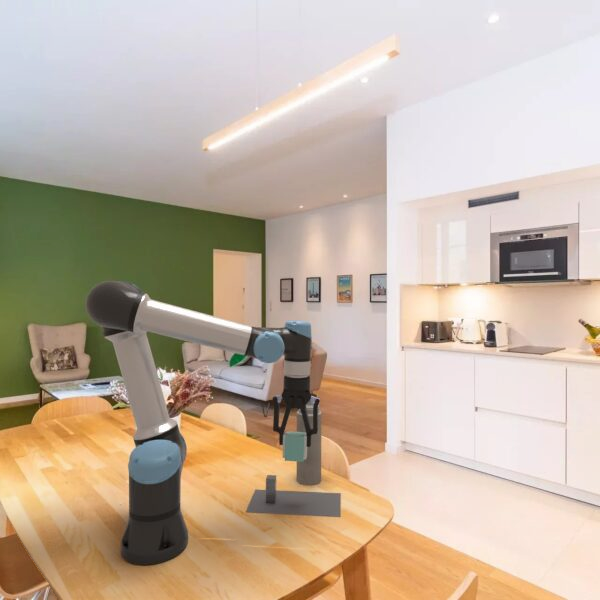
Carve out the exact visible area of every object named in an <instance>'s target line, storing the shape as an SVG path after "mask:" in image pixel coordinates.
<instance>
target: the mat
mask: <svg viewBox="0 0 600 600" xmlns="http://www.w3.org/2000/svg"><path fill="white" fill-rule="evenodd" d="M341 495H342V494H341V492H339V493H338V492H321V491H319V492H318V491H300V490H299V491H298V490H297V491H295V490H279V489H278V490H277V489H276V502H275V504H274V503H266V489H257V488H256V489H254V491H253V494H252V496H251V499H250V501H249V503H248V506H247V508H246V509H245V513H249V514H251V513H252V514H269V515H270V514H271V515H290V516H307V517H326V518H327V517H329V518H341V517H342V515H341V513H342V512H341V511H342V510H341V506H342V505H341V504H342V502H341V500H342V498H341Z"/></svg>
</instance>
